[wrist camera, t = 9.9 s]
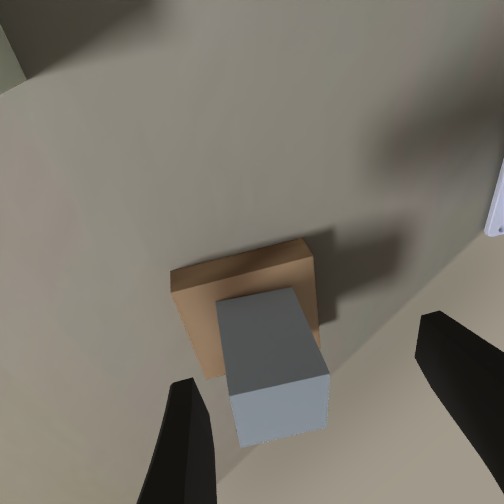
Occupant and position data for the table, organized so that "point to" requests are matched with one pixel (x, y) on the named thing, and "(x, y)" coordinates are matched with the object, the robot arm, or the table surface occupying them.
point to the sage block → (9, 65)
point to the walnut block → (240, 292)
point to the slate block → (272, 367)
